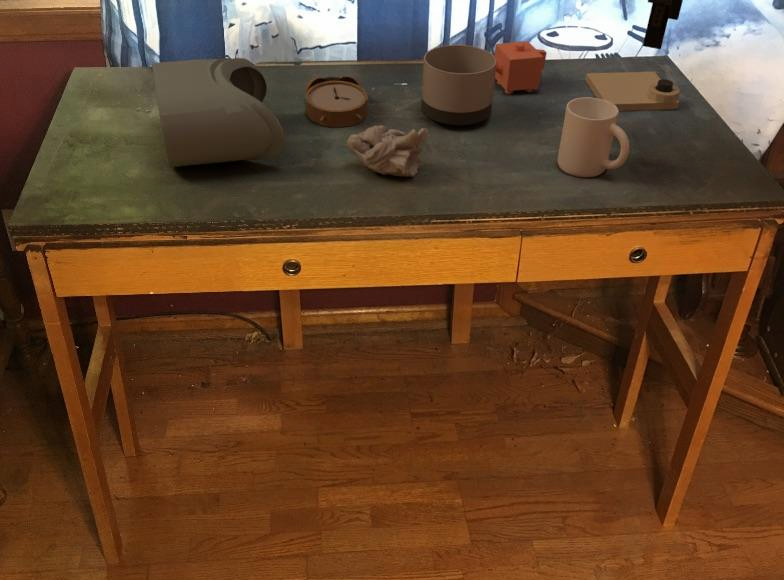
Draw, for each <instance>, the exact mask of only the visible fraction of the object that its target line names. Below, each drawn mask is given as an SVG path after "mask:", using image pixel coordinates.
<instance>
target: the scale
mask: <svg viewBox="0 0 784 580" xmlns="http://www.w3.org/2000/svg"><path fill="white" fill-rule="evenodd" d="M659 80H662V79H661V77H659V75H658V74H657V73H656V71H627V72H626V71H625V72H624V71H623V72H590V73H589V72H587V73H585V79H584V81H585V82H586V84H587V85H588V87H589V88H590V90H591V91H592V93H593V94H594V96H595V98H599V99H603V100H606V101H609V102H611V103H613V104H614V105H615V106H616V107H617V108H618V110H619V112H627V111H628V112H629V111H633V112H634V111H662V110H666V111H667V110H678V109H679V106H680V101H679V100H678V99H679V96H680V92H681V89H680V88H679V87H678V86H677V85H675V84H673V87H672V91H671V92H667V93H665V92H660V91H658V90H656V88H657V84H658V81H659Z"/></svg>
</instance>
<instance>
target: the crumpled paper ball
mask: <svg viewBox="0 0 784 580" xmlns="http://www.w3.org/2000/svg"><path fill="white" fill-rule="evenodd" d="M428 134H429V130H428V129H427V128H425V127H423V128H420V129H419V130H417V129H414V128H412V129H411V130H410V131H409V132H408V133H406V132H405V131H402V130H398V129H394V128H390V129H388V130H387V128H386V126H385V125H383V124H381V125H373V126H371V127H368V128H366V129H365V130H364V131H360V132H359V133H358V134H357V133H353V134H350V135H349V137H347V140H346V147H347V149H348V150H349V151H350V152H351V153H352V154H353V155H355V156H356V157H358V158H359V159H360V160H361V161H362V163H363V165H364V166H365V167H366V168H368V169H369V170H370V171H373V172H376V173H379V174H381V175H384V176H386V175H390V176H394V177H403V178H408V177H411V178H413V177H415V176H416V175H417V174H418V170H419V168H420V165H421V163H422V162H421V159H420V158H419V157H418V156H419V155H420V154H421V153H422V152H423V148H422V147H419V146H420V145H421V144H423V143H424V142H425V140H426V138H427V137H428Z"/></svg>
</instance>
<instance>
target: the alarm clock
mask: <svg viewBox="0 0 784 580" xmlns="http://www.w3.org/2000/svg"><path fill="white" fill-rule="evenodd" d="M305 104H306V111H305V112H306V115H307V117H308V119H309V120H311V121H312V122H313V123H315V124H317V125H320V126H322V127H328V128H346V127H347V128H348V127H352V126H354V125H357V124H359V123H361V122H363V121H364V120H365V119H366V117H367V115H368V93H367V91H366V89H364V88H363V87H361V84H360V82H359V81H358V79H357V78H356V77H354V76H352V75H343V76H324V77H321V76H315V77H313V78H311V79H310V80H308V82H307V84H306V87H305Z"/></svg>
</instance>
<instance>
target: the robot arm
mask: <svg viewBox="0 0 784 580" xmlns="http://www.w3.org/2000/svg"><path fill="white" fill-rule="evenodd" d="M683 1H684V0H647V3H649V4H651V8H650V13H649V17H648V21H647V26H646V29H645V34H644V39H643V42H642V43H643V44H642V47H645V48H650V49H656V50H662V46H663V42H664V38H665V34H666V30H667V25H668V21H669V20H674V21H678V20H679V18H680V14H681V9H682V5H683Z"/></svg>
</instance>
